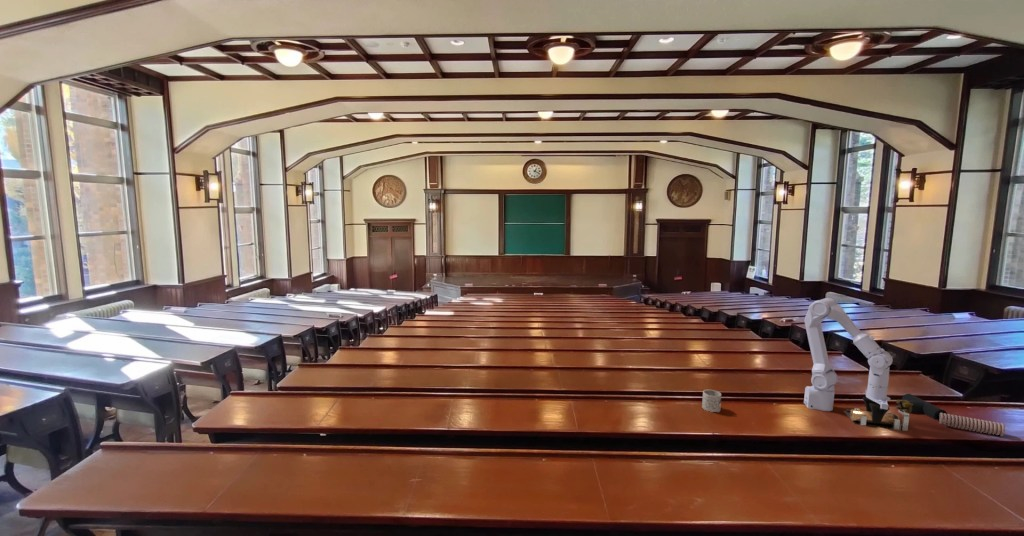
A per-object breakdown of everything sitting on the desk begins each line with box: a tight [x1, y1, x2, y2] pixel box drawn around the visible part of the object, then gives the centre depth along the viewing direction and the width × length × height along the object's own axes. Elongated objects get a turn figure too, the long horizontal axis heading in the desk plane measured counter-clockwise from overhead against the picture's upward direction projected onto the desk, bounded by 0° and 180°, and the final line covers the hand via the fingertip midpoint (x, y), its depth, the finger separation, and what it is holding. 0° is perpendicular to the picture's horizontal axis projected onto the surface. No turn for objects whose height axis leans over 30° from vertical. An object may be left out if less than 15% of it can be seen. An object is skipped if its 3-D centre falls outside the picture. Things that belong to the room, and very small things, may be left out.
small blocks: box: [853, 407, 901, 431], centre depth 171 cm, size 12×7×4 cm, turn 72°
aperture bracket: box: [897, 409, 910, 432], centre depth 167 cm, size 2×4×6 cm, turn 162°
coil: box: [938, 413, 1006, 437], centre depth 169 cm, size 5×5×18 cm
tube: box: [849, 409, 901, 426], centre depth 171 cm, size 14×4×4 cm, turn 72°
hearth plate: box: [843, 408, 909, 432], centre depth 174 cm, size 16×12×2 cm
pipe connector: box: [895, 393, 948, 421], centre depth 182 cm, size 12×5×15 cm
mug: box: [701, 389, 722, 413], centre depth 186 cm, size 10×7×7 cm, turn 179°
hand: (873, 420), depth 171 cm, fingers closed on tube, 4 cm apart
